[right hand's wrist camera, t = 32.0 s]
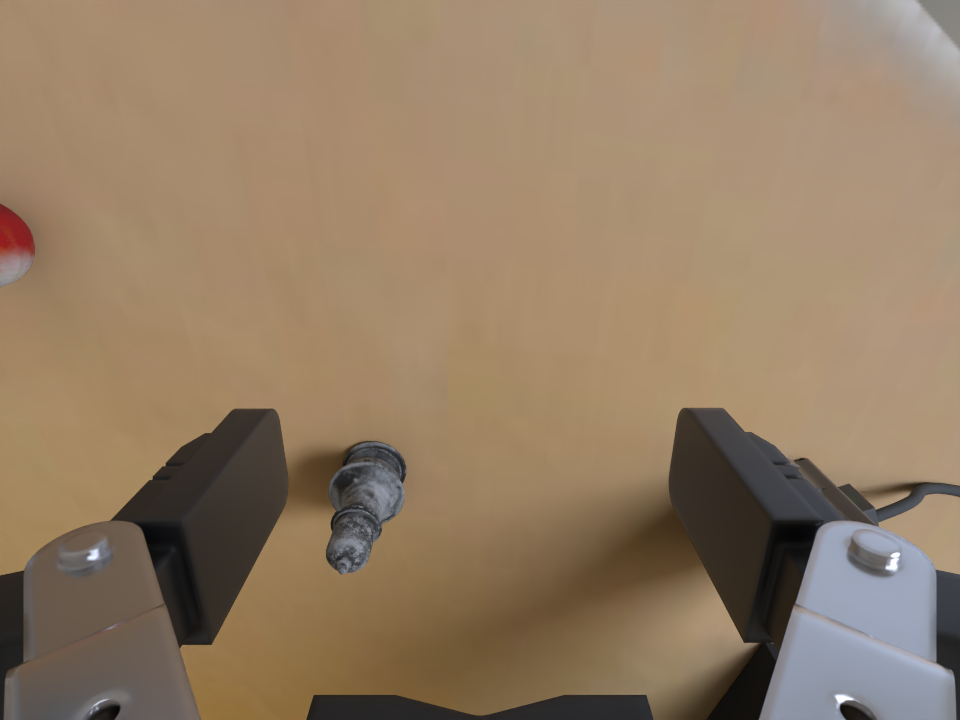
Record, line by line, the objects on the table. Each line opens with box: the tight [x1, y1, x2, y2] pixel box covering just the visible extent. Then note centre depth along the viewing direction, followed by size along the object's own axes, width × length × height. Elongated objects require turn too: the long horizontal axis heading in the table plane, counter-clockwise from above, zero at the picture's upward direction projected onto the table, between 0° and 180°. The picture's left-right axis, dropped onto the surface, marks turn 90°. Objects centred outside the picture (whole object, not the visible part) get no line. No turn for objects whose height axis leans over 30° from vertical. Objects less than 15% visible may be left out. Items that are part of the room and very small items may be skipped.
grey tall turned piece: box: [326, 442, 406, 574], centre depth 41 cm, size 6×6×12 cm
